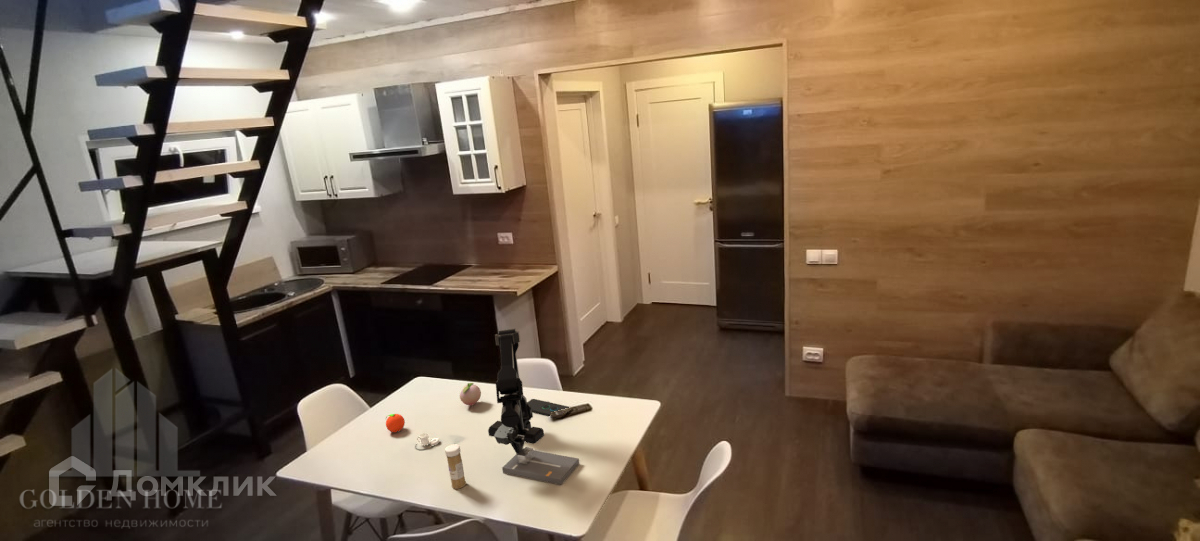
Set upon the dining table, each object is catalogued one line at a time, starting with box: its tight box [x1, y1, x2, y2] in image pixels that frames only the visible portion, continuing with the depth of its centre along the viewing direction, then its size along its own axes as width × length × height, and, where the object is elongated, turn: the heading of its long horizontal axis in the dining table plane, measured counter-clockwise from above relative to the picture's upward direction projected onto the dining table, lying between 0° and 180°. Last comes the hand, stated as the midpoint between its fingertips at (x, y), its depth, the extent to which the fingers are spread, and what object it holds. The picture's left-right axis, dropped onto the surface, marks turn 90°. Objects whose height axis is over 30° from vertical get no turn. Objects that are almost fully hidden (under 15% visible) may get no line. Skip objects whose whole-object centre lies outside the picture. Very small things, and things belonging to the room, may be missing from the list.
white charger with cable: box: [416, 433, 441, 447], centre depth 211 cm, size 9×8×4 cm
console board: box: [501, 447, 580, 486], centre depth 188 cm, size 22×12×2 cm, turn 63°
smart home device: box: [527, 398, 570, 418], centre depth 228 cm, size 8×2×20 cm
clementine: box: [385, 413, 406, 433], centre depth 224 cm, size 8×7×7 cm
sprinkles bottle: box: [444, 443, 467, 490], centre depth 183 cm, size 5×5×14 cm
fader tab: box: [518, 446, 535, 464], centre depth 190 cm, size 3×5×3 cm, turn 153°
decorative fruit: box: [459, 382, 482, 406], centre depth 238 cm, size 9×8×10 cm
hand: (519, 454), depth 191 cm, fingers closed
